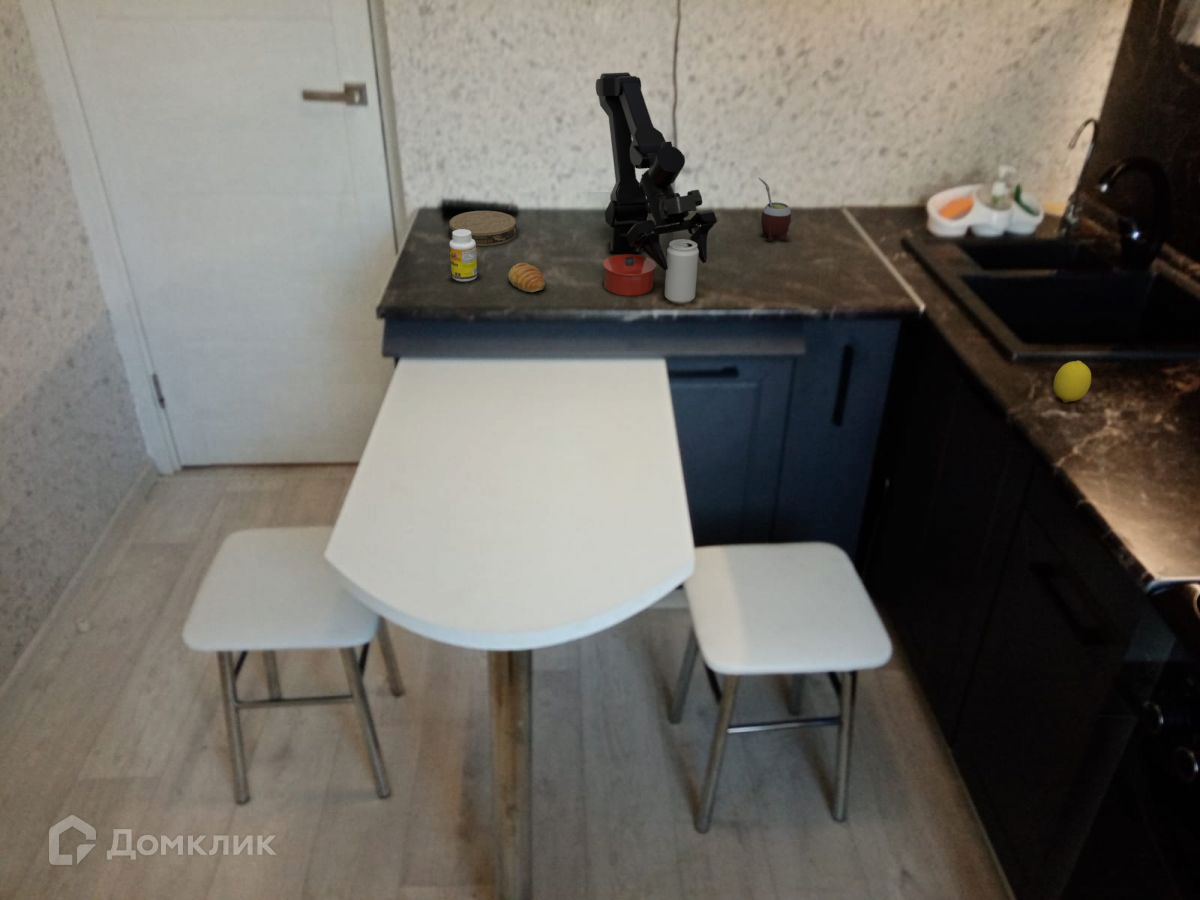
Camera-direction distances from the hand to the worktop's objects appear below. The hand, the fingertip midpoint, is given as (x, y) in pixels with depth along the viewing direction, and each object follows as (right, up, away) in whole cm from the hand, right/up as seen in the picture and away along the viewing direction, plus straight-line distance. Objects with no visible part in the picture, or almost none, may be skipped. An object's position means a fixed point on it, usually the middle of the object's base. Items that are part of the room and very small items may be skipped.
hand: (685, 266), depth 185 cm
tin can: (-46, +15, +35) cm, 60 cm away
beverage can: (-1, -6, +6) cm, 8 cm away
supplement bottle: (-47, 0, +13) cm, 48 cm away
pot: (-11, -2, +11) cm, 16 cm away
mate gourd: (+24, +14, +37) cm, 46 cm away
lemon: (+63, -29, -27) cm, 75 cm away
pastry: (-33, -2, +10) cm, 34 cm away
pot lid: (-11, +2, +8) cm, 14 cm away
